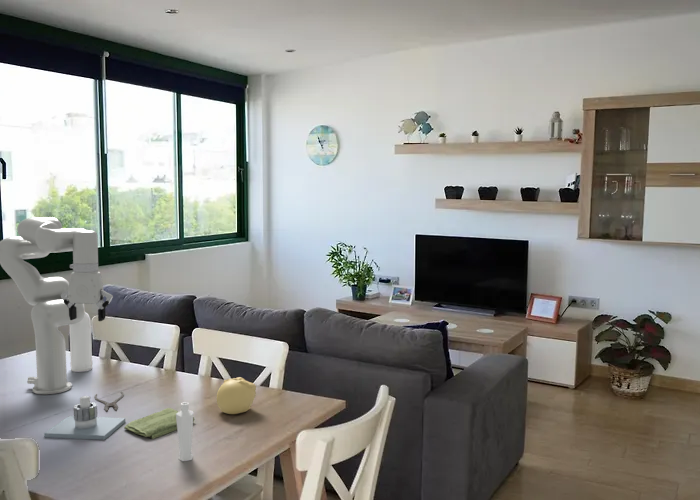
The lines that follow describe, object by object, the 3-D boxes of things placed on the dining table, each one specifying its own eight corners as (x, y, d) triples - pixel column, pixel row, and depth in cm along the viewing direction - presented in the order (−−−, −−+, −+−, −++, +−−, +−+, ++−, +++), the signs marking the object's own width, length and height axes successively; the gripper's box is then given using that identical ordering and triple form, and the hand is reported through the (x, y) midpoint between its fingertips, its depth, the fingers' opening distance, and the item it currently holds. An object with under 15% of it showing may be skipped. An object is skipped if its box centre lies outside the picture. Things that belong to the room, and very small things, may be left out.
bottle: (78, 373, 251) (75, 296, 248) (66, 370, 255) (63, 294, 252) (96, 368, 258) (94, 293, 255) (84, 365, 262) (81, 291, 259)
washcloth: (121, 431, 194) (121, 421, 194) (170, 415, 208) (170, 405, 208) (148, 442, 186) (148, 431, 186) (197, 424, 200) (197, 414, 200)
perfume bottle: (178, 454, 177) (177, 400, 175) (194, 454, 177) (193, 400, 176) (175, 462, 172) (174, 406, 171) (192, 461, 172) (191, 406, 171)
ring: (69, 420, 191) (69, 409, 191) (80, 413, 198) (80, 401, 197) (90, 421, 191) (90, 409, 190) (100, 413, 197) (100, 402, 197)
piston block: (44, 437, 188) (42, 404, 187) (69, 419, 202) (67, 389, 201) (104, 439, 187) (103, 406, 186) (125, 421, 201) (124, 391, 200)
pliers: (120, 389, 230) (137, 405, 214) (120, 392, 231) (137, 408, 214) (92, 394, 225) (106, 411, 209) (92, 396, 225) (106, 413, 209)
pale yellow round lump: (260, 408, 214) (260, 375, 213) (239, 419, 203) (239, 386, 202) (231, 402, 219) (231, 371, 218) (209, 414, 208) (209, 381, 207)
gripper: (54, 269, 210) (56, 321, 212) (106, 270, 209) (107, 323, 211) (66, 266, 218) (68, 316, 220) (116, 267, 216) (117, 318, 218)
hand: (87, 319), depth 215 cm, fingers open, 9 cm apart
